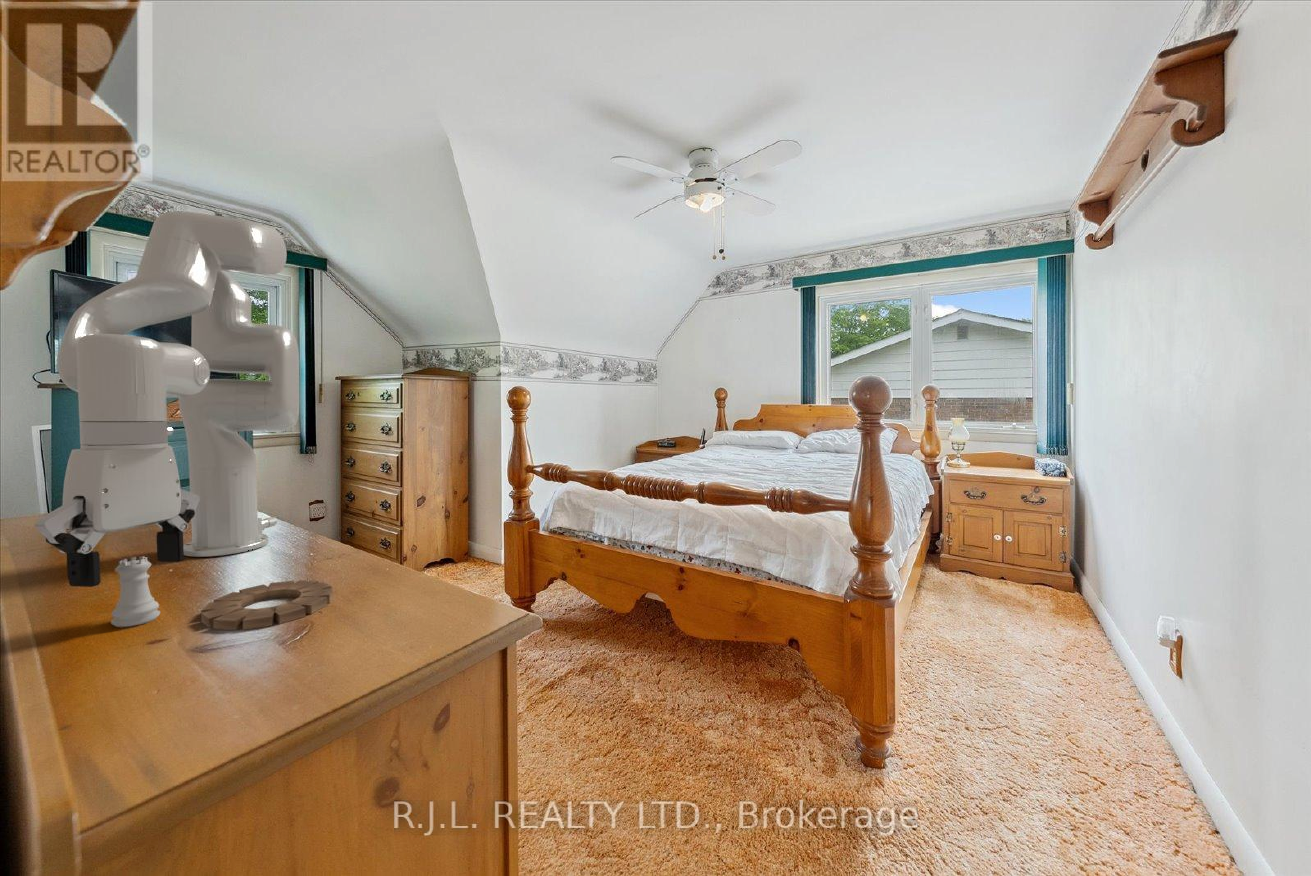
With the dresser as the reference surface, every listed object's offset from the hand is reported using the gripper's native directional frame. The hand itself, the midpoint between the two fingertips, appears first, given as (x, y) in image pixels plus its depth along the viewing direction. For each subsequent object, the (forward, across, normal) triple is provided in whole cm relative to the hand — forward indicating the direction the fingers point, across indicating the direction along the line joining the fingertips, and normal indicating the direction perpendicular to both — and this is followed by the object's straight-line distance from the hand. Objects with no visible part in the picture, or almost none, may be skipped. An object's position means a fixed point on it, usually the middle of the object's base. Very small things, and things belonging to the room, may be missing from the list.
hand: (131, 572), depth 64 cm
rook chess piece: (+7, -1, 0) cm, 7 cm away
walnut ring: (+6, -7, +13) cm, 16 cm away
